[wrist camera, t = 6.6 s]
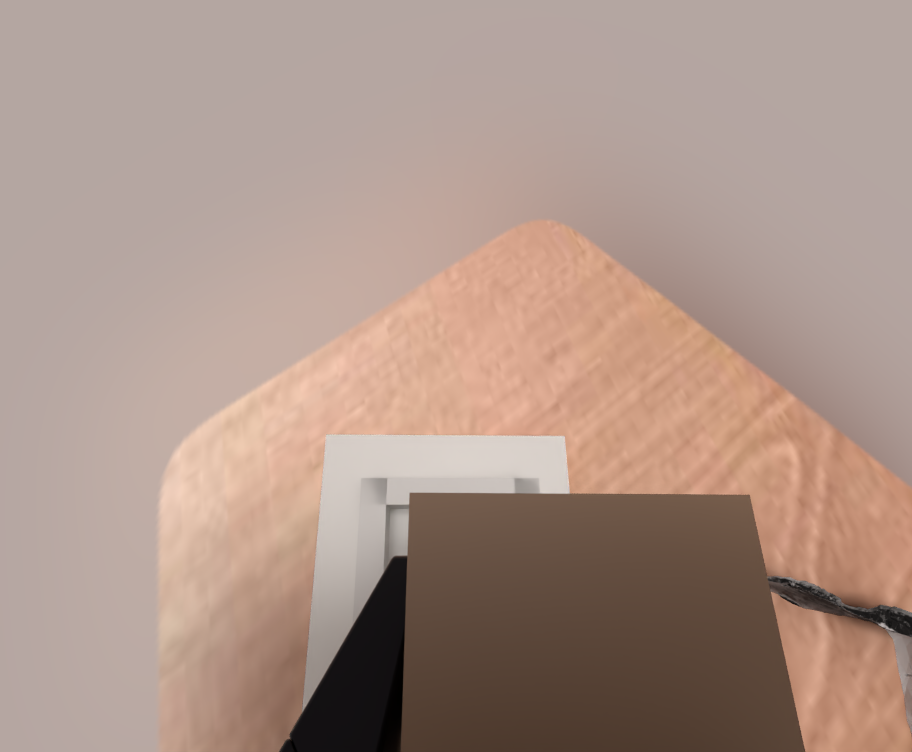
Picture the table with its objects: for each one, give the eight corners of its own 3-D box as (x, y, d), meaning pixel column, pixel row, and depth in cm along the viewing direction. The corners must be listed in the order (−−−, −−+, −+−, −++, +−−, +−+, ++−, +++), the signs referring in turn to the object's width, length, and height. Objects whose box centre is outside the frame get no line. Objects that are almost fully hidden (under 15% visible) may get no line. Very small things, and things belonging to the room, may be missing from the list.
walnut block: (513, 689, 14) (933, 1339, 2) (413, 691, 14) (378, 1414, 2) (507, 531, 15) (749, 495, 4) (417, 530, 15) (409, 492, 4)
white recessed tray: (586, 766, 18) (623, 816, 15) (301, 779, 17) (273, 835, 14) (558, 440, 22) (582, 423, 19) (330, 439, 22) (314, 421, 18)
